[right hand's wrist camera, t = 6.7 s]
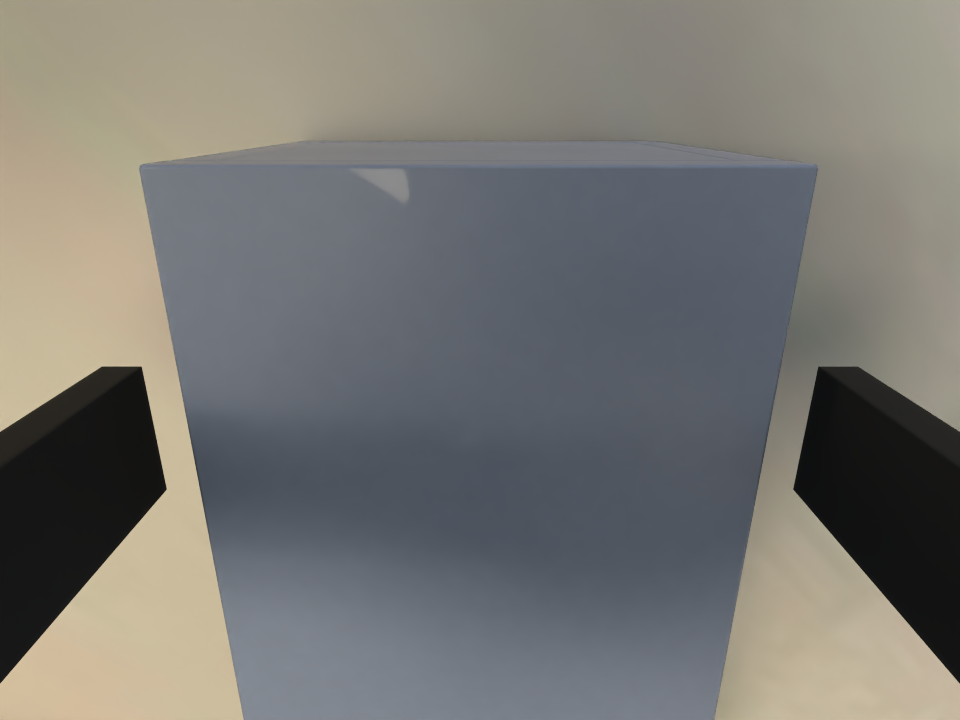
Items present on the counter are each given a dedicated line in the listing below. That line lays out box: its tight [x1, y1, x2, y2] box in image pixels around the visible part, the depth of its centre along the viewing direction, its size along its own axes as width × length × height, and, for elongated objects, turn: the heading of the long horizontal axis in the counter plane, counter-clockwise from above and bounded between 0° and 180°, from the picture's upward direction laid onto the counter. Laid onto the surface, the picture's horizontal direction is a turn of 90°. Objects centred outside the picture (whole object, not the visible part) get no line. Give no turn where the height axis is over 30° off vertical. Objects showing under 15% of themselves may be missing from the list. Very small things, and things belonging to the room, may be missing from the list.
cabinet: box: [139, 141, 818, 720], centre depth 17 cm, size 20×10×9 cm, turn 0°
